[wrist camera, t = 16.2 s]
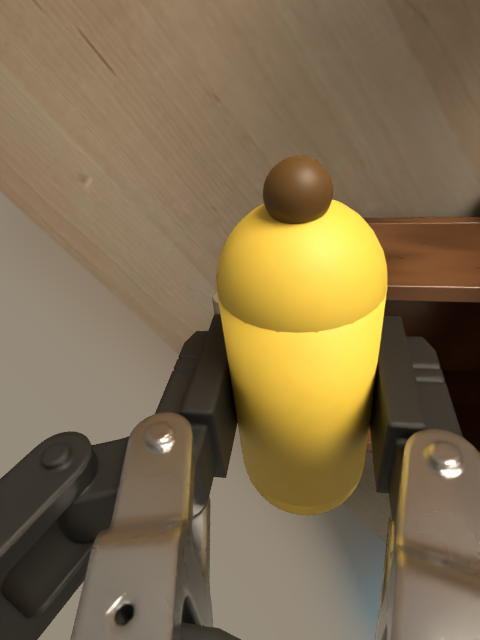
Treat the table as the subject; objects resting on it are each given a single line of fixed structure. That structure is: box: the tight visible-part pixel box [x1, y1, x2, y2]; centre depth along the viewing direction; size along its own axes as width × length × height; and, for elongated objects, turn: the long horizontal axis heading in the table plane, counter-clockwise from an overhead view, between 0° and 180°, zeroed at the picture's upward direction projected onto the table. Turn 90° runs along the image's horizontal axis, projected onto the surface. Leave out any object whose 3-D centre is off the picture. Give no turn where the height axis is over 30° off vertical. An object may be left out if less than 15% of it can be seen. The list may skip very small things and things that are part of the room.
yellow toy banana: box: [216, 156, 387, 515], centre depth 10 cm, size 10×3×3 cm, turn 6°
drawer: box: [212, 217, 480, 454], centre depth 24 cm, size 20×13×8 cm, turn 94°
